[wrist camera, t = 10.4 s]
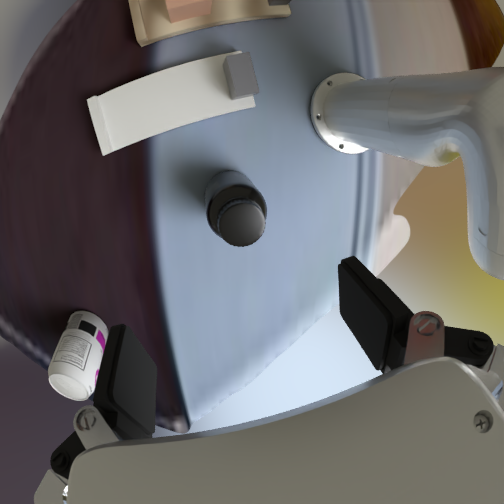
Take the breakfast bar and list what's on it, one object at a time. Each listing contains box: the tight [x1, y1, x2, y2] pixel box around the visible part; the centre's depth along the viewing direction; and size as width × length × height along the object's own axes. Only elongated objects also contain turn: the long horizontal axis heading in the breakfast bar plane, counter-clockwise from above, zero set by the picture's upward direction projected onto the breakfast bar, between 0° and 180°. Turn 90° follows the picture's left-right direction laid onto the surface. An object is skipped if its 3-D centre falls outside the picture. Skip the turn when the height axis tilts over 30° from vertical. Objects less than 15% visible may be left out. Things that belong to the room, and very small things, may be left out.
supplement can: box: [48, 311, 108, 401], centre depth 37 cm, size 8×8×15 cm
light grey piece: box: [87, 51, 259, 156], centre depth 27 cm, size 20×8×7 cm, turn 103°
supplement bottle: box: [205, 171, 267, 247], centre depth 32 cm, size 7×7×12 cm
